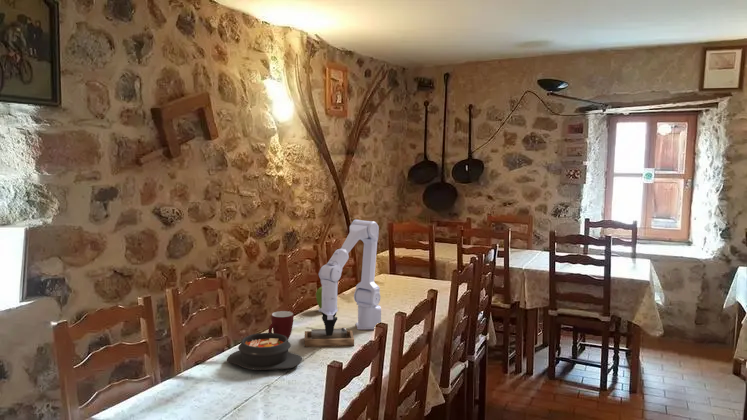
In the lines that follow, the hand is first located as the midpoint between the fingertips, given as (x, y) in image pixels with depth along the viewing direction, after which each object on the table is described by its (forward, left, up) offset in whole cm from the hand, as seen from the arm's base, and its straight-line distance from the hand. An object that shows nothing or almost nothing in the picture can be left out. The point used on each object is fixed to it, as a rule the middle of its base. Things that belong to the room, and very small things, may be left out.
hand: (329, 333), depth 199 cm
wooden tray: (0, 0, -3) cm, 3 cm away
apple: (0, -40, -4) cm, 40 cm away
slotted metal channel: (0, 0, -3) cm, 3 cm away
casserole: (+22, +20, -4) cm, 30 cm away
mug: (+18, -2, -4) cm, 18 cm away
